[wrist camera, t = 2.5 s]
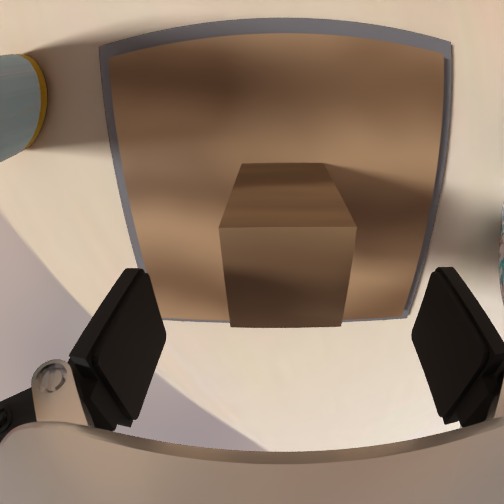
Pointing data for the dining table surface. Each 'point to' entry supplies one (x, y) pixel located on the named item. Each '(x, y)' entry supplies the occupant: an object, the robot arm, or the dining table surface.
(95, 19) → the dining table surface
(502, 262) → the chinaware
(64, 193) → the dining table surface
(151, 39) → the mat
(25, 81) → the bottle
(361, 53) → the cover
